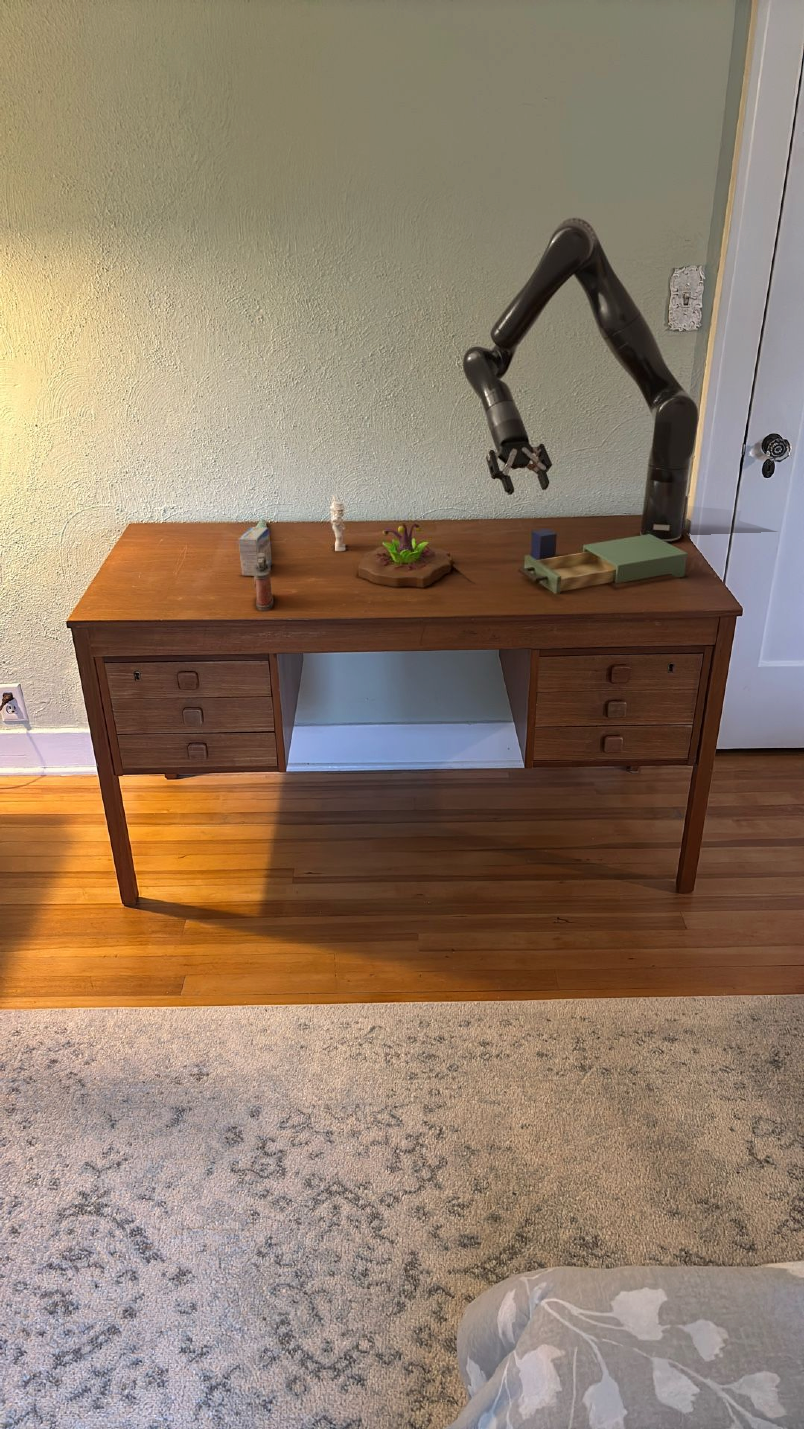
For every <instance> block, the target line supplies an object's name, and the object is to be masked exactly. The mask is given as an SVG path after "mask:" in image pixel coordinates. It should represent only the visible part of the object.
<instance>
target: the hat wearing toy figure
mask: <svg viewBox="0 0 804 1429" xmlns="http://www.w3.org/2000/svg"><path fill="white" fill-rule="evenodd" d="M336 500H337V499H336V497H335V496H334V495H332V499H331V505H330V506H329V510H330V515H331V517H330V520H331V521H330V524H331V530H332V531H333V532H334V535H335V543H334V551H335V552H346V549H347V548H346V543H344V537H343V535H344V534H343V533H344V531H343V530H345V529H346V524H344V516H345V511H346V509H347V506H345V505H344V503H342V502H340V501H336Z"/></svg>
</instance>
